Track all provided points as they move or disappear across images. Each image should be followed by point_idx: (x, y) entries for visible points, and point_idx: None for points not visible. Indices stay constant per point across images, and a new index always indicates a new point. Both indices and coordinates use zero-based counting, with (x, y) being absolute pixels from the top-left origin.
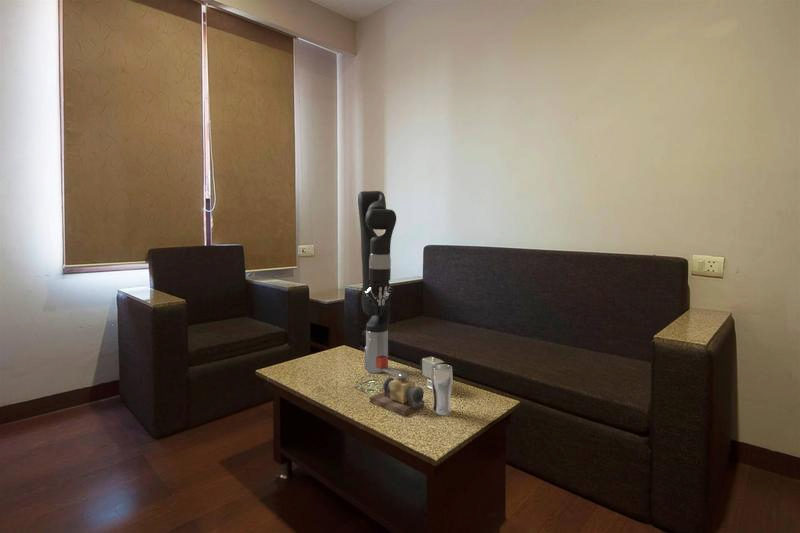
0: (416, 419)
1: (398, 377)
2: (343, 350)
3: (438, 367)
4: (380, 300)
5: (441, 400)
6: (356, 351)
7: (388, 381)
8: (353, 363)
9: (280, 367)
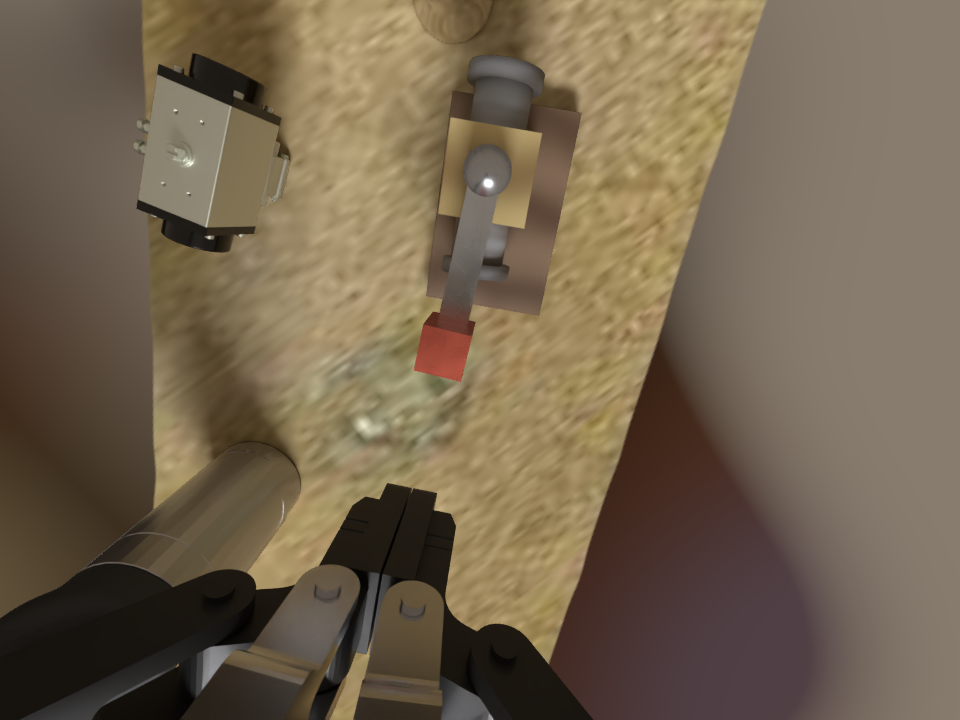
0: (574, 56)
1: (501, 192)
2: None
3: None
4: (378, 663)
5: None
6: None
7: (488, 264)
8: (268, 584)
9: None
